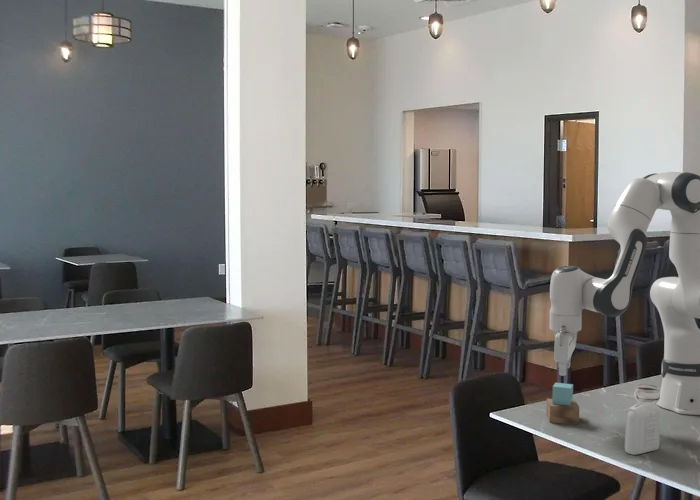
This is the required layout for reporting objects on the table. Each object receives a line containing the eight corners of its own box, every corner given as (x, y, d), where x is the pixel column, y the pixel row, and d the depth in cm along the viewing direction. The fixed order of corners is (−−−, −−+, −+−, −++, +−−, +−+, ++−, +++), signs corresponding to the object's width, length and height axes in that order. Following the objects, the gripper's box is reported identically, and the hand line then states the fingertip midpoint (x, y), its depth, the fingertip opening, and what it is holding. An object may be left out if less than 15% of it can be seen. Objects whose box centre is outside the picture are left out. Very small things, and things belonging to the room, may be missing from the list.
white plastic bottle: (647, 444, 205) (649, 397, 204) (661, 449, 202) (663, 401, 201) (621, 451, 200) (623, 403, 199) (636, 456, 196) (637, 407, 195)
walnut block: (574, 416, 231) (574, 399, 230) (578, 424, 223) (579, 407, 222) (546, 415, 232) (546, 398, 231) (549, 423, 224) (550, 406, 223)
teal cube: (572, 401, 228) (573, 384, 228) (570, 405, 224) (570, 388, 223) (554, 399, 230) (555, 382, 230) (552, 403, 226) (552, 386, 225)
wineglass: (627, 427, 219) (628, 385, 218) (646, 425, 222) (648, 383, 221) (644, 435, 213) (645, 391, 212) (664, 432, 215) (666, 389, 214)
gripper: (572, 330, 214) (572, 381, 216) (580, 318, 233) (579, 364, 234) (549, 329, 217) (548, 379, 218) (558, 317, 236) (558, 362, 237)
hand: (564, 371), depth 226 cm, fingers open, 8 cm apart
